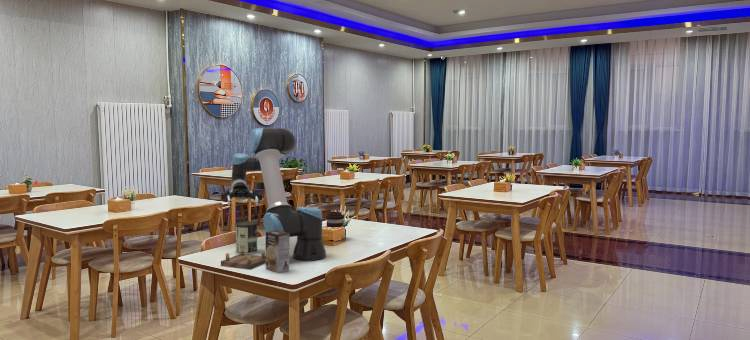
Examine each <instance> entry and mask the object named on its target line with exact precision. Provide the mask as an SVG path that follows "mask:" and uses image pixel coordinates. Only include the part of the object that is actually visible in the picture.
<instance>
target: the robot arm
mask: <svg viewBox="0 0 750 340" xmlns="http://www.w3.org/2000/svg"><path fill="white" fill-rule="evenodd" d="M248 138H249V139H248V151H249V152H250V153H251V154H254V157H249V156H248V155H247V154H246V153H240V152H239V153H236V154H235V153H234V155H233V158H232V170H231V177H230V184H231V189H232V190H231V189H230V188H227V189H226V190H225V191H224V192H223V193H221V195H220V200H221V201H222V200H224V202H225V203H226V202H227V206H231V205H230V204H231V199H234V198H247V199H248V198H249V199H251V200H254V201H255V206H256V207H258V206H259V203H260V201H263V195H262V194H260V193H258V192H257V191H255V189H252V190H250V191H249V189H248V185H247V173H248V172H261V175H262V180H263V185H264V191H265V195H266V202H267V204H268V205H267V206H268V207H267V209H266V211H265V212H266V213H265V214H264V215H263V217H262V220H263V222H262V223H263V227H264V231H265V233H266V232H269V231H275V230H279V231H282V232H286V233H290V234H289V238H293V237H296V243H295V245H294V248H293V252H292V257H293V259H295V260H298V261H299V260H300V261H318V260H323V259H325V258H326V255H327V254H326V253H327V251H326V248H325V245H324V242H323V219H324V218H323V211H322V210H321V209H319V208H315V207H310V206H309V207H308V206H297V207H296V210H293V208H292V205H291V204H289V203H288V199H287V196H286V191H285V185H284V181H283V177H282V172H281V169H280V167H281V166H280V161H279V160H280V159H281V158H283V157H284V156H285V155H289V154H291V153H292V152H293V151H294V150H295V149H296V147H297V140H296V136H295V135H294V134H293V133H292V132H291V131H290V130H289V129H286V128H281V127H280V128H278V127H277V128H275V127H273V128H272V127H271V128H263V127H260V128H258V127H256V128H253V129H252V130H251V132H250V133H249V137H248Z"/></svg>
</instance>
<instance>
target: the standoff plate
mask: <svg viewBox="0 0 750 340" xmlns="http://www.w3.org/2000/svg"><path fill="white" fill-rule="evenodd" d="M260 251H261V252H260V253H261V255H256V254H244V248H241V254H236V255H233V256H231V257H230V253H229V252H228V253H227V252H226V253H225V259H223V260H221V261H220V267H229V268H235V269H236V268H237V269H243V270H244V269H245V270H252V269H255V268H257V267H259V266H261V265H265V264H266V250H260Z"/></svg>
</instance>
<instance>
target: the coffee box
mask: <svg viewBox="0 0 750 340" xmlns="http://www.w3.org/2000/svg"><path fill="white" fill-rule="evenodd" d="M289 234H290V233H286V232H282V231H279V230H275V231H269V232H266V231H265V256H266V263H265V270H268V271H271V272H274V273H277V274H280V273H283V272H287V271H289V270H290V237H289Z"/></svg>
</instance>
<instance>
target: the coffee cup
mask: <svg viewBox="0 0 750 340" xmlns="http://www.w3.org/2000/svg"><path fill="white" fill-rule="evenodd" d="M325 219H326V228H327V227H341V226H342V225H343V226H344V220H345V214H342V212H341V211H329V212H328V214H326V215H325ZM342 221H343V222H342Z"/></svg>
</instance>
